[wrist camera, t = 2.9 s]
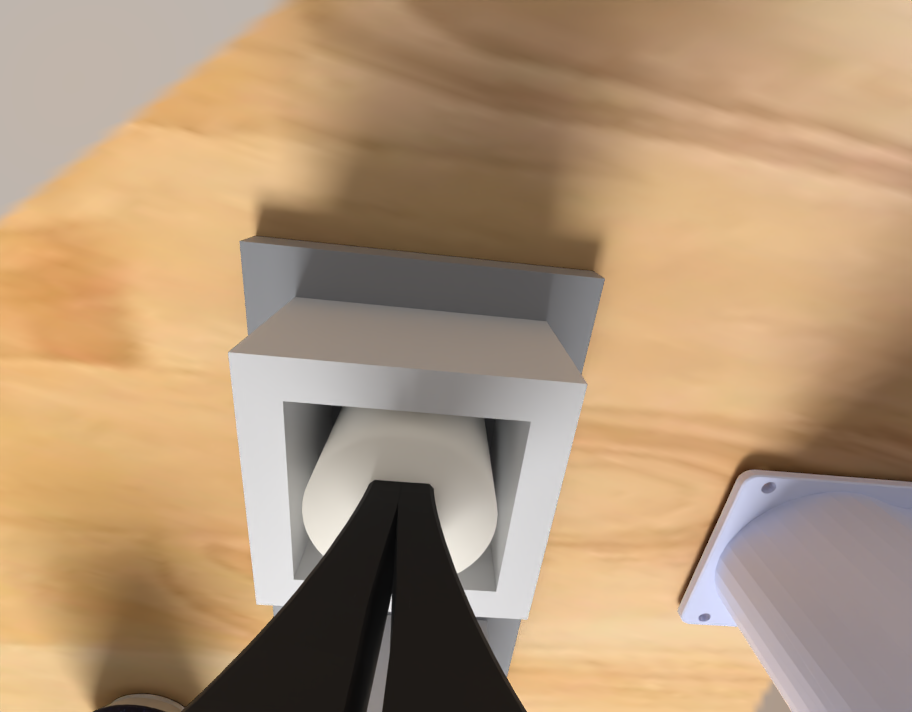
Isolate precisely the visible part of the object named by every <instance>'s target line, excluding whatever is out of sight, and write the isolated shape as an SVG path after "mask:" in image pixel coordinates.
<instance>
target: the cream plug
mask: <svg viewBox="0 0 912 712" xmlns="http://www.w3.org/2000/svg"><path fill="white" fill-rule="evenodd" d="M374 480H384V481H398V482H411V483H426V484H430V485H431V486H432V487H433V488H434V496H435V503H436V508H437V512H438V516H439V520H440V524H441V527H442V531H443V534H444V538H445V541H446V544H447V547H448V549H449V552H450V555H451V558H452V561H453V564H454V567H455V569H456V572H457V573H459V572H461V571H463V570H464V569H466V568H467V567H469V566H470V565H471V564H472V563H474V562H475V561H476V560H477V559H478V558H479V557H480V556H481V555H482V554H483V552H484V551H485V550H486V548H487V547H488V545H489V544H490V542H491V540H492V538H493V535H494V533H495V529H496V525H497V516H498V513H497V502H496V495H495V488H494V481H493V475H492V468H491V461H490V454H489V447H488V440H487V434H486V427H485V420H484V418H480V417H468V416H456V415H444V414H432V413H420V412H408V411H396V410H384V409H372V408H360V407H348V406H342V408H341V411H340V413H339V415H338V417H337V419H336V422H335V424H334V426H333V428H332V431H331V433H330V435H329V437H328V440H327V442H326V444H325V446H324V448H323V451H322V453H321V455H320V457H319V460H318V462H317V464H316V466H315V468H314V471H313V473H312V475H311V477H310V480H309V482H308V484H307V487H306V489H305V492H304V496H303V501H302V515H303V522H304V525H305V528H306V531H307V533H308V536H309V538H310V540H311V541H312V543H313V544H314V546H315V547H316V549H317V550H318V551H319V552H320V553H321V554H322V555H323V556H324V555H325V553H326V552H327V550H328V549H329V548H330V546H331V545H332V543H333V542H334V540H335V539H336V538H337V536H338V535H339V533H340V532H341V530H342V529H343V527H344V526H345V525H346V523H347V521H348V520H349V518H350V517H351V515H352V514H353V512H354V510H355V509H356V507H357V505H358V504H359V502H360V500H361V499H362V497H363V495H364V493H365V491H366V489H367V487H368V485H369V483H371V482H372V481H374Z"/></svg>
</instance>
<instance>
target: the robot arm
mask: <svg viewBox="0 0 912 712" xmlns="http://www.w3.org/2000/svg"><path fill="white" fill-rule="evenodd" d="M764 484H765V485H764ZM391 596H392V605H391V633H390V654H389V662H388V670H387V677H386V685H385V693H384V700H383V708H382V712H527V711H526V710H525V708H524V706H523V705H522V703H521V701H520V700H519V698H518V697H517V695H516V693H515V692H514V690H513V688H512V686H511V685H510V683H509V681H508V679H507V677H506V675H505V674H504V672H503V670H502V668H501V666H500V664H499V663H498V661H497V659H496V657H495V655H494V653H493V651H492V649H491V647H490V645H489V643H488V641H487V639H486V637H485V635H484V633H483V631H482V629H481V627H480V625H479V623H478V621H477V619H476V617H475V614H474V612H473V610H472V608H471V606H470V603H469V601H468V599H467V596H466V594H465V592H464V589H463V587H462V584H461V582H460V579H459V577H458V574H457V572H456V569H455V567H454V564H453V561H452V558H451V555H450V552H449V549H448V547H447V544H446V541H445V538H444V534H443V531H442V527H441V524H440V520H439V516H438V512H437V508H436V503H435V496H434V488H433V487H432V486H431V485H430V484H426V483H411V482H398V481H384V480H374V481H372V482H371V483H369V485H368V487H367V489H366V491H365V493H364V495H363V497H362V499H361V500H360V502H359V504H358V505H357V507H356V509H355V510H354V512H353V514H352V515H351V517H350V518H349V520H348V521H347V523H346V525H345V526H344V527H343V529H342V530H341V532H340V533H339V535H338V536H337V538H336V539H335V540H334V542H333V543H332V545H331V546H330V548H329V549H328V550H327V552H326V553H325V555H324V556H323V557H322V559H321V560H320V561H319V562H318V564H317V565H316V566H315V568H314V569H313V570H312V571H311V573H310V574H309V575H308V576H307V578H306V579H305V580H304V582H303V583H302V584H301V585H300V587H299V588H298V589H297V590H296V592H295V593H294V594H293V595H292V596H291V598H290V599H289V600H288V601H287V602H286V604H285V605H284V606H283V607H282V608H281V609H280V610H279V612H278V613H277V614H276V615H275V616H274V617H273V618H272V620H271V621H270V622H269V623H268V624H267V625H266V626H265V627H264V628H263V629H262V631H261V632H260V633H259V634H258V635H257V636H256V637H255V638H254V639H253V640H252V641H251V643H250V644H249V645H248V646H247V647H246V648H245V649H244V650H243V651H242V652H241V653H240V654H239V655H238V656H237V657H236V658H235V659H234V660H233V661H232V662H231V663H230V664H229V665H228V666H227V667H226V668H225V669H224V670H223V671H222V672H221V673H220V674H219V675H218V676H217V677H216V678H215V679H214V680H213V681H212V682H211V683H210V684H209V685H208V686H207V687H206V688H205V689H204V690H203V691H202V692H201V693H200V694H199V695H198V696H197V697H196V698H195V699H194V700H193V701H192V702H191V703H190V704H189V705H187V706H186V707H185V708H184V709H183V710H182V711H181V712H367V708H368V704H369V699H370V694H371V690H372V685H373V680H374V676H375V671H376V666H377V662H378V657H379V652H380V648H381V643H382V638H383V634H384V629H385V624H386V620H387V615H388V610H389V605H390V601H391ZM678 614H679V616H680V617H681V619H682V621H683V622H685V623H688V624H702V625H719V626H737V627H738V628H739V629H740V631H741V633H742V634H743V636H744V637H745V639H746V641H747V642H748V644H749V645H750V647H751V648H752V650H753V652H754V653H755V655H756V656H757V658H758V659H759V661H760V663H761V664H762V666H763V667H764V669H765V670H766V672H767V674H768V675H769V677H770V678H771V680H772V681H773V683H774V685H775V686H776V688H777V689H778V691H779V692H780V694H781V695H782V697H783V699H784V700H785V702H786V703H787V705H788V707H789V708H790V710H791V711H792V712H912V482H907V481H894V480H881V479H868V478H856V477H843V476H830V475H818V474H805V473H792V472H780V471H767V470H748V471H745V472H743V473H742V474H740V475H739V477H738V478H737V480H736V482H735V484H734V486H733V489H732V491H731V493H730V495H729V497H728V500H727V502H726V504H725V506H724V508H723V511H722V513H721V515H720V517H719V519H718V522H717V524H716V526H715V528H714V530H713V533H712V535H711V537H710V539H709V541H708V544H707V546H706V548H705V550H704V552H703V555H702V557H701V559H700V561H699V563H698V566H697V568H696V570H695V572H694V574H693V577H692V579H691V581H690V583H689V585H688V588H687V590H686V592H685V594H684V596H683V599H682V601H681V603H680V605H679V607H678Z"/></svg>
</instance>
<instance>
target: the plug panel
mask: <svg viewBox="0 0 912 712" xmlns="http://www.w3.org/2000/svg"><path fill="white" fill-rule="evenodd" d="M240 251H241V262H242V273H243V284H244V295H245V306H246V316H247V327H248V336H247V337H246V338H245V339H244V340H242V341H241V342H240V343H239V344H238V345H236V346H235V347H234V348H233V349H231V350H230V351H229V352H228V356H229V365H230V374H231V382H232V391H233V400H234V409H235V418H236V427H237V436H238V444H239V453H240V462H241V471H242V480H243V489H244V497H245V506H246V515H247V524H248V533H249V542H250V551H251V559H252V568H253V577H254V586H255V595H256V604H257V605H273V612H274V616H275V615H276V614H277V613H278V612H279V610H280V609H281V608H282V607H283V606H284V605H285V604H286V602H287V601H288V600H289V599H290V598H291V596H292V595H293V594H294V593H295V592H296V590H297V589H298V588H299V587H300V585H301V584H302V583H303V582H304V580H305V579H306V578H307V576H308V575H309V574H310V573H311V571H312V570H313V569H314V568H315V566H316V565H317V564H318V562H319V561H320V560H321V559H322V557H323V555H322V554H321V553H320V552H319V551H318V550H317V549H316V547H315V546H314V544H313V543H312V541H311V540H310V538H309V536H308V533H307V531H306V528H305V525H304V522H303V515H302V501H303V496H304V492H305V489H306V487H307V484H308V482H309V480H310V477H311V475H312V473H313V471H314V468H315V466H316V464H317V462H318V460H319V457H320V455H321V453H322V451H323V448H324V446H325V444H326V442H327V440H328V437H329V435H330V433H331V431H332V428H333V426H334V424H335V422H336V419H337V417H338V415H339V413H340V411H341V408H342V406H348V407H360V408H372V409H384V410H396V411H408V412H420V413H432V414H444V415H456V416H468V417H480V418H484V420H485V427H486V434H487V440H488V447H489V454H490V461H491V468H492V475H493V481H494V488H495V495H496V502H497V513H498V516H497V525H496V529H495V533H494V535H493V538H492V540H491V542H490V544H489V545H488V547H487V548H486V550H485V551H484V552H483V554H482V555H481V556H480V557H479V558H478V559H477V560H476V561H475V562H474V563H472V564H471V565H470V566H469V567H467V568H466V569H464V570H463V571H461V572H459V573H457V574H458V577H459V579H460V582H461V584H462V587H463V589H464V592H465V594H466V596H467V599H468V601H469V603H470V606H471V608H472V610H473V612H474V614H475V617H476V619H477V621H478V623H479V625H480V627H481V629H482V631H483V633H484V635H485V637H486V639H487V641H488V643H489V645H490V647H491V649H492V651H493V653H494V655H495V657H496V659H497V661H498V663H499V664H500V666H501V668H502V670H503V672H504V674H505V675H506V677H507V674H508V670H509V666H510V662H511V658H512V654H513V650H514V646H515V642H516V638H517V634H518V630H519V626H520V622H521V619H526V620H527V619H528V615H529V611H530V608H531V604H532V600H533V596H534V592H535V588H536V584H537V580H538V576H539V572H540V568H541V564H542V560H543V557H544V553H545V549H546V545H547V541H548V537H549V533H550V529H551V525H552V521H553V517H554V513H555V509H556V506H557V502H558V498H559V494H560V490H561V486H562V482H563V478H564V474H565V470H566V466H567V462H568V459H569V455H570V451H571V447H572V443H573V439H574V435H575V431H576V427H577V423H578V419H579V415H580V411H581V408H582V404H583V400H584V396H585V392H586V388H587V383H586V381H585V380H584V378H583V377H582V375H581V374H582V370H583V366H584V362H585V358H586V354H587V350H588V346H589V341H590V337H591V333H592V329H593V325H594V321H595V317H596V313H597V309H598V305H599V301H600V297H601V293H602V289H603V285H604V281H605V279H604V278H603V277H602V276H600V275H599V274H597V273H596V272H594V271H588V270H578V269H568V268H559V267H549V266H540V265H530V264H521V263H511V262H501V261H492V260H482V259H473V258H463V257H453V256H444V255H434V254H425V253H415V252H405V251H396V250H386V249H377V248H367V247H357V246H348V245H338V244H329V243H319V242H309V241H300V240H290V239H281V238H271V237H261V236H253V237H250V238H247V239H244V240H241V241H240ZM391 605H392V596H391V601H390V605H389V610H388V615H387V620H386V624H385V629H384V634H383V638H382V643H381V648H380V652H379V657H378V662H377V666H376V671H375V676H374V680H373V685H372V690H371V694H370V699H369V704H368V708H367V712H382V708H383V700H384V693H385V685H386V677H387V670H388V662H389V654H390V633H391Z"/></svg>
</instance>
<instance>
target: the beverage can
mask: <svg viewBox="0 0 912 712" xmlns="http://www.w3.org/2000/svg"><path fill="white" fill-rule="evenodd" d="M184 708H185V707H183V706H182V705H180V704H179V703H177V702H175V701H173V700H171V699H168V698H165V697H161V696H157V695H151V694H132V695H126V696H123V697H120V698H118V699H116V700H115V701H113V702H112V703H111V704H110V705H107V706H105V707H102V708H100V709H98V710H95V711H93V712H181V711H182V710H183V709H184Z"/></svg>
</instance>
